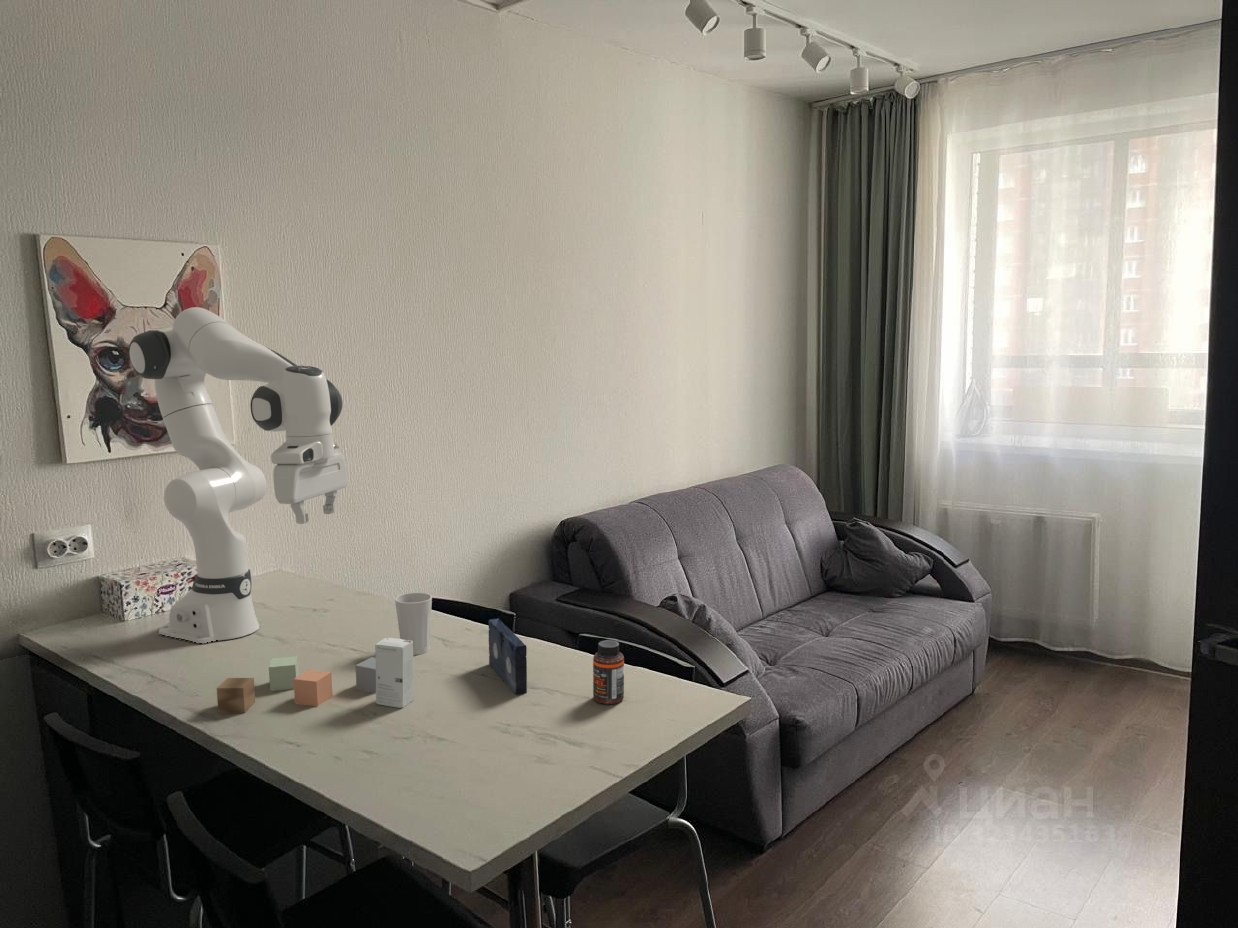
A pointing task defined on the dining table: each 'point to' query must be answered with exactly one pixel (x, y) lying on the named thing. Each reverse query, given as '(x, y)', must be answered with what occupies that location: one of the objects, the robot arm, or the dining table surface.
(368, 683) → the slate cube
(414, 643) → the cup
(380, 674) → the skincare box
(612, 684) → the supplement bottle
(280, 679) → the sage cube
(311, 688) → the terracotta cube
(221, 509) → the robot arm
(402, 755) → the dining table surface
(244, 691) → the walnut cube
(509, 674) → the vhs cassette tape
